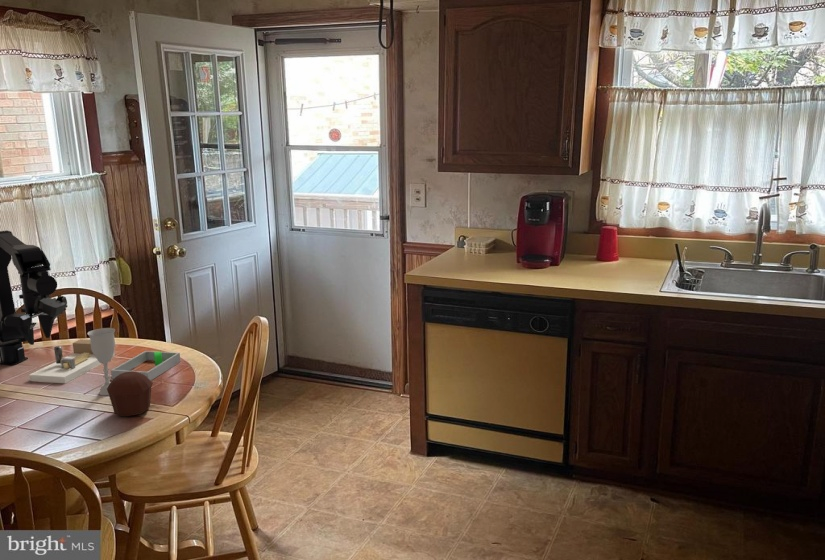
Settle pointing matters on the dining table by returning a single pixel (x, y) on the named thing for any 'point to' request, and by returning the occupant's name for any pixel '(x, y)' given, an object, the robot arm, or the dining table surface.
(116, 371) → the frame
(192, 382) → the dining table surface
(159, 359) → the mechanical part
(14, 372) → the dining table surface
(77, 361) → the bolt
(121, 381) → the muffin
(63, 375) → the door board
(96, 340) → the chalice
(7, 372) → the dining table surface
